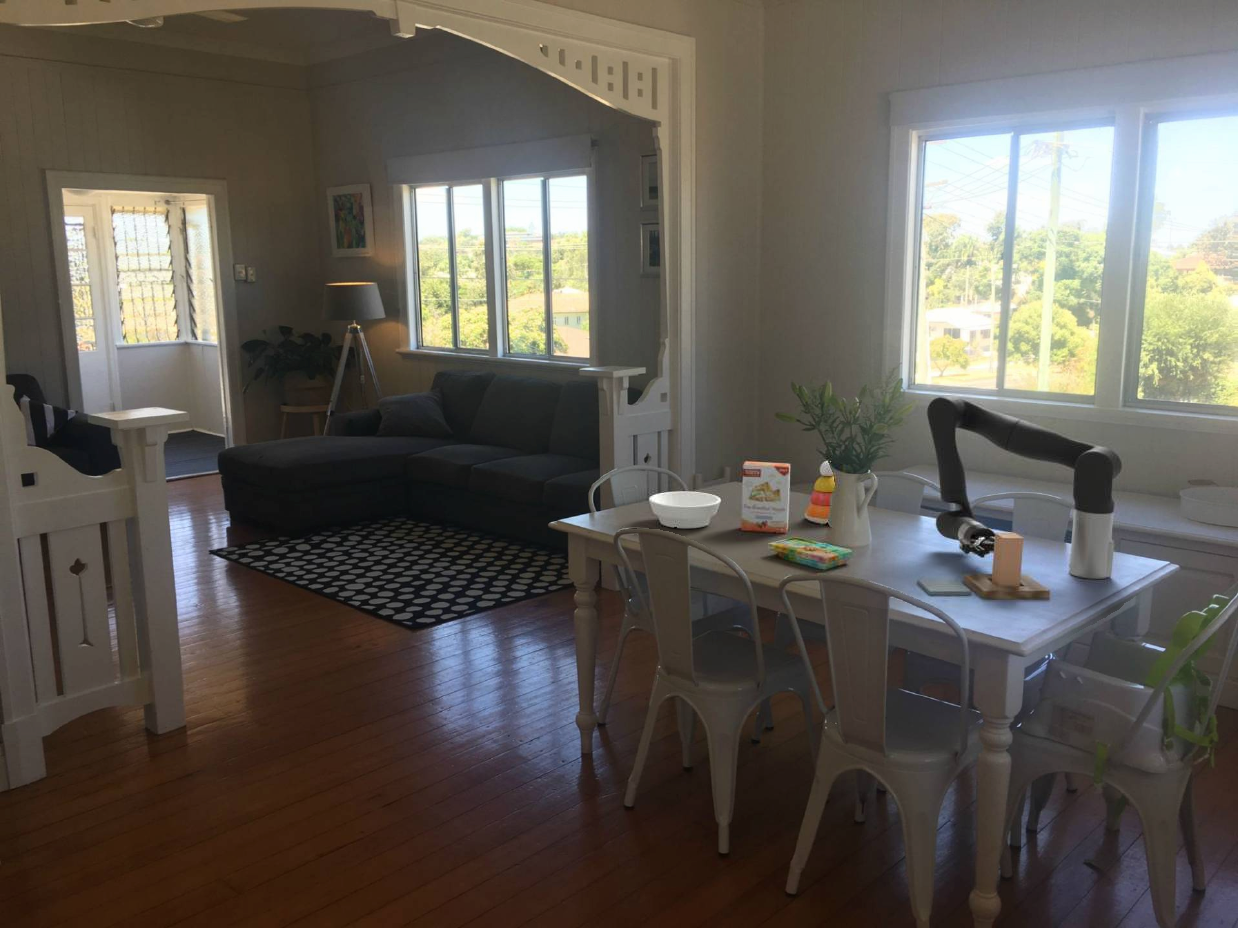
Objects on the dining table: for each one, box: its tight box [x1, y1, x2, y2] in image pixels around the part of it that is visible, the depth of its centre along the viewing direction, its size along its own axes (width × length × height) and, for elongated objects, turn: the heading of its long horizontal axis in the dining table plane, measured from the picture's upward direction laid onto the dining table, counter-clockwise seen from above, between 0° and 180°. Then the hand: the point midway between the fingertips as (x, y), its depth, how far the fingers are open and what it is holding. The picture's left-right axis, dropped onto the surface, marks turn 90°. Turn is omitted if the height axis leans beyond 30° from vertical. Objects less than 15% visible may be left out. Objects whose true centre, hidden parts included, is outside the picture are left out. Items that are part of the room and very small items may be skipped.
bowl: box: [648, 491, 722, 529], centre depth 315 cm, size 22×22×8 cm
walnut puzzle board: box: [962, 573, 1051, 600], centre depth 249 cm, size 16×14×2 cm
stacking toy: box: [804, 460, 835, 525], centre depth 319 cm, size 14×14×20 cm
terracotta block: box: [991, 532, 1024, 587], centre depth 248 cm, size 5×5×14 cm
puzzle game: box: [766, 536, 853, 571], centre depth 276 cm, size 12×5×20 cm
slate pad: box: [917, 578, 972, 596], centre depth 250 cm, size 10×10×1 cm
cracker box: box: [740, 460, 791, 534], centre depth 307 cm, size 14×6×21 cm, turn 76°
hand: (1000, 553), depth 252 cm, fingers open, 8 cm apart
